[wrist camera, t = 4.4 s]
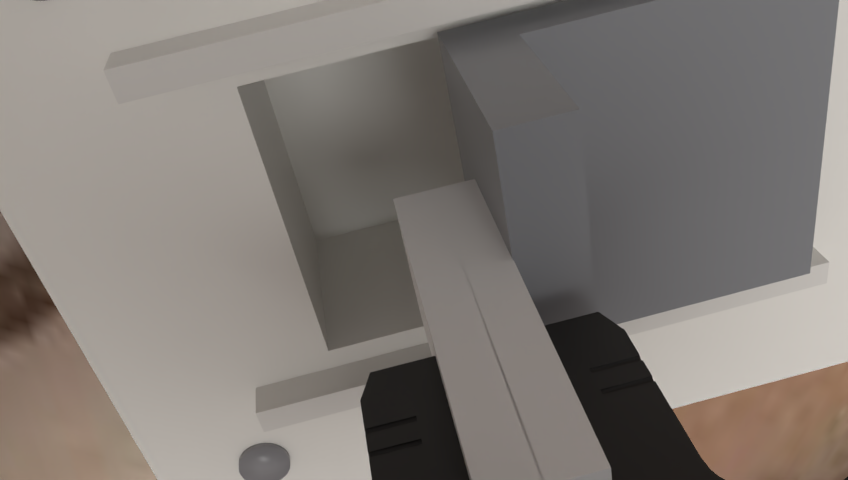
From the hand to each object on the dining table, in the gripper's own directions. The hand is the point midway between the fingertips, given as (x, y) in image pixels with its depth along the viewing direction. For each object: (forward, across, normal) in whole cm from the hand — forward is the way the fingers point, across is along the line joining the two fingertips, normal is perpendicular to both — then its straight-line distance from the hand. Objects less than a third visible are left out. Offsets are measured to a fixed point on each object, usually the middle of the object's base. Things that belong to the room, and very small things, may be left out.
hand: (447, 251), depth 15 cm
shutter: (+2, +4, 0) cm, 4 cm away
